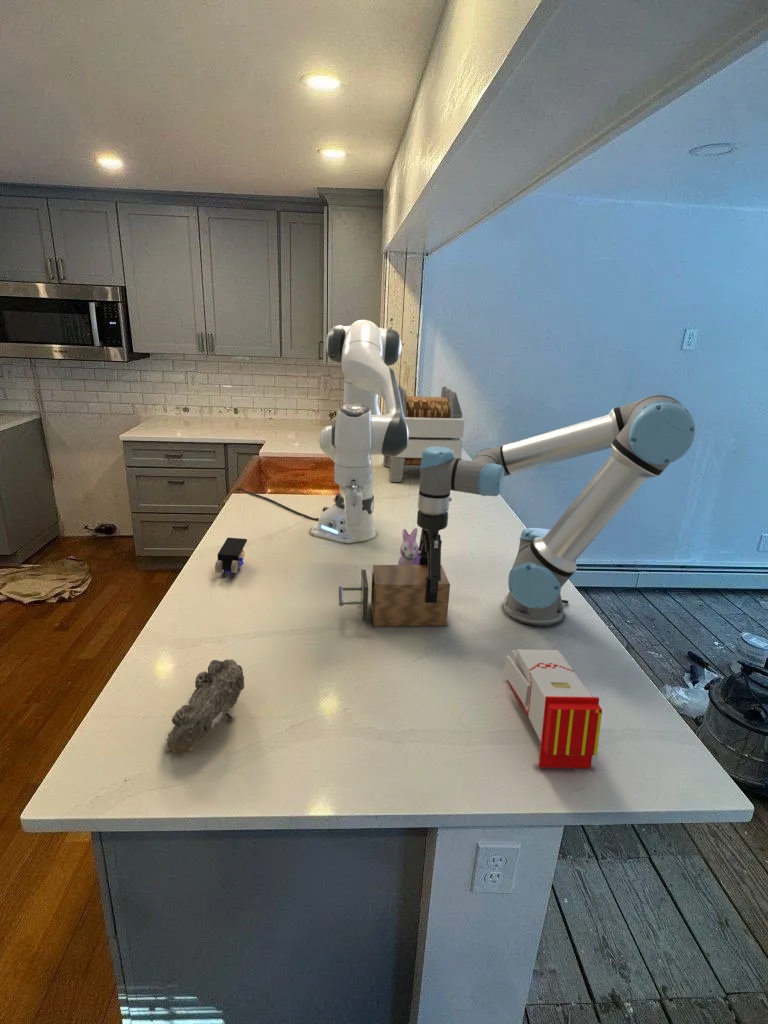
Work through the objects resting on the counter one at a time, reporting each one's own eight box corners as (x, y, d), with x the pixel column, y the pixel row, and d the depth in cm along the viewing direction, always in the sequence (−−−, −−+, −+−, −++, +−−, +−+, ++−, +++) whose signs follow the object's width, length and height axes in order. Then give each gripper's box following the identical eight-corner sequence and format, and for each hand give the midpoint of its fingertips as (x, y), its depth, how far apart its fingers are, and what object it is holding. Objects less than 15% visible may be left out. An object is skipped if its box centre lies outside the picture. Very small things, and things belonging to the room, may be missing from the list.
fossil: (192, 660, 117) (244, 628, 112) (224, 691, 120) (276, 661, 115) (142, 746, 98) (202, 712, 93) (182, 779, 101) (242, 748, 96)
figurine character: (238, 584, 162) (249, 557, 175) (236, 562, 158) (247, 536, 172) (215, 584, 161) (227, 556, 175) (212, 561, 158) (225, 535, 171)
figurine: (405, 586, 162) (408, 538, 157) (388, 572, 170) (390, 525, 165) (433, 580, 166) (436, 533, 161) (415, 566, 174) (418, 521, 169)
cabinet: (374, 626, 141) (375, 584, 137) (371, 604, 152) (372, 564, 148) (446, 625, 143) (450, 584, 139) (438, 603, 154) (441, 564, 150)
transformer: (382, 463, 289) (386, 382, 275) (445, 464, 293) (451, 384, 279) (390, 482, 257) (394, 392, 243) (460, 483, 261) (468, 394, 247)
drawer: (338, 621, 141) (339, 587, 137) (338, 602, 150) (338, 569, 147) (429, 620, 143) (432, 587, 140) (423, 601, 152) (425, 569, 149)
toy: (554, 631, 124) (612, 705, 95) (548, 687, 127) (603, 776, 98) (499, 630, 124) (540, 704, 94) (495, 686, 126) (533, 775, 97)
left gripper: (369, 488, 124) (367, 546, 129) (363, 464, 144) (362, 515, 148) (340, 487, 124) (339, 546, 128) (338, 463, 143) (337, 515, 148)
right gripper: (458, 528, 127) (450, 613, 135) (439, 495, 150) (433, 570, 157) (425, 528, 127) (419, 614, 134) (411, 495, 149) (406, 570, 156)
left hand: (351, 529), depth 138 cm, fingers open, 8 cm apart
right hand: (427, 590), depth 146 cm, fingers closed on cabinet, 11 cm apart
